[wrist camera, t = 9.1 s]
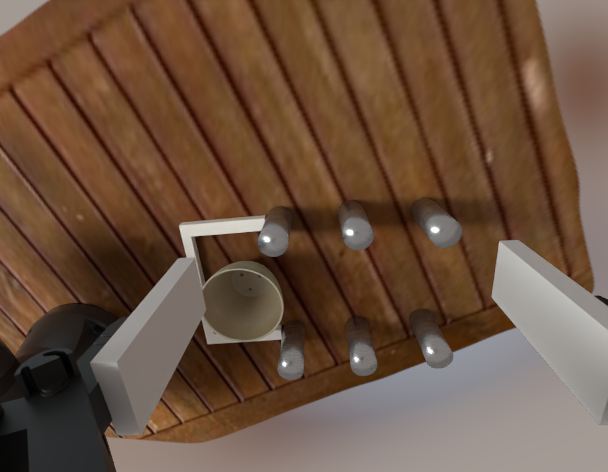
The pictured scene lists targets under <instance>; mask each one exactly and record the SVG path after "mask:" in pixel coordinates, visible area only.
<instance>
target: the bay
mask: <svg viewBox="0 0 608 472" xmlns="http://www.w3.org/2000/svg"><path fill="white" fill-rule="evenodd" d="M265 220H266V215H262V216H251V217H239V218H227V219H216V220H204V221H192V222H182V223H181V224H180V225H179V228H180V232H181V236H182V240H183V245H184V249H185V253H186V257H187V258H191V257H195V259H196V263H197V268H198V273H199V278H200V282H201V287H202V288H203V286H204V284H205V280H204V275H203V271H202V266H201V262H200V258H199V253H198V249H197V244H196V240H195V236H205V235H217V234H229V233H241V232H253V231H261V230H262V227H263V225H264V222H265ZM202 323H203V328H204V332H205V336H206V340H207V344H220V343H235V342H237V341H232V340H229V339H226V338H224V337H222V336H220V335H218V334H217V333H215V332H214V331H213V330H212V329H211V328H210V327H209V326H208V325H207V324H206V322H205V321H204V319H203V317H202ZM266 340H282V325H278V327H277V328H276V329H275V330H274V331H273V332H272V333H271V334H269V335H268V336H266V337H264V338H262V339H260V340H256V341H266Z"/></svg>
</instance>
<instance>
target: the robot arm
mask: <svg viewBox="0 0 608 472" xmlns="http://www.w3.org/2000/svg"><path fill="white" fill-rule="evenodd" d="M492 298H493V300H494V301H495V302H496V303H497V304H498V306H499V307H500V308H501V309H502V310H503V312H504V313H505V314H506V315H507V316H508V317H509V319H510V320H511V321H512V322H513V323H514V325H515V326H516V327H517V328H518V329H519V330H520V332H521V333H522V334H523V335H524V336H525V338H526V339H527V340H528V341H529V342H530V343H531V345H532V346H533V347H534V348H535V349H536V351H537V352H538V353H539V354H540V355H541V357H542V358H543V359H544V360H545V361H546V362H547V364H548V365H549V366H550V367H551V368H552V370H553V371H554V372H555V373H556V374H557V376H558V377H559V378H560V379H561V380H562V381H563V383H564V384H565V385H566V386H567V387H568V389H569V390H570V391H571V392H572V393H573V394H574V396H575V397H576V398H577V399H578V400H579V401H580V403H581V404H582V405H583V406H584V407H585V409H586V410H587V411H588V412H589V413H590V415H591V416H592V417H593V418H594V419H595V421H596V422H597V423H598V424H599V425H608V299H606V298H603V297H601V296H593V295H592V294H591V293H589V292H588V291H586V290H585V289H584V288H582V287H581V286H580V285H578V284H577V283H576V282H574V281H573V280H572V279H570V278H569V277H568V276H566V275H565V274H563V273H562V272H561V271H559V270H558V269H557V268H555V267H554V266H553V265H551V264H550V263H549V262H547V261H546V260H545V259H543V258H542V257H541V256H539V255H538V254H536V253H535V252H534V251H532V250H531V249H530V248H528V247H527V246H526V245H524V244H523V243H522V242H520V241H519V240H509V241H499V248H498V255H497V262H496V269H495V276H494V284H493V291H492ZM205 311H206V306H205V302H204V297H203V292H202V287H201V282H200V278H199V273H198V268H197V263H196V259H195V257H191V258H178V259H177V260H176V262H175V263H174V264H173V265H172V266H171V268H170V269H169V270H168V271H167V272H166V273H165V275H164V276H163V277H162V278H161V279H160V281H159V282H158V283H157V284H156V285H155V286H154V288H153V289H152V290H151V291H150V292H149V294H148V295H147V296H146V297H145V298H144V299H143V301H142V302H141V303H140V304H139V305H138V307H137V308H136V309H135V310H134V311H133V312H132V314H131V315H130V316H129V317H121V318H120V319H118V318H116V317H115V316H113V315H112V314H110V313H108V312H106V311H104V310H102V309H100V308H97V307H94V306H90V305H85V304H66V305H61V306H58V307H55V308H53V309H51V310H50V311H48V312H47V313H46V314H45V315H43V316H42V317H41V318H40V319H39V320H37V321H36V322H35V323H34V324H33V326H32V327H31V328H30V330H29V332H28V334H27V336H26V339H25V341H24V342H23V344H22V345H21V347H20V349H19V350H18V352H17V353H16V355H15V356H14V354H13V353H12V352H11V351H10V350H9V348H8V347H7V346H6V345H5V343H4V342H3V341H2V340H1V339H0V472H116V469H115V466H114V462H113V459H112V455H111V452H110V449H109V445H108V442H107V439H106V437H105V434H104V432H105V431H106V429H107V428H108V426H109V425H110V423H111V421H112V423H113V426H114V429H115V431H116V434H117V435H142V433H143V431H144V429H145V427H146V425H147V423H148V421H149V419H150V417H151V416H152V414H153V412H154V410H155V408H156V406H157V404H158V402H159V400H160V398H161V396H162V394H163V392H164V390H165V389H166V387H167V385H168V383H169V381H170V379H171V377H172V375H173V373H174V371H175V369H176V367H177V365H178V363H179V361H180V360H181V358H182V356H183V354H184V352H185V350H186V348H187V346H188V344H189V342H190V340H191V338H192V336H193V334H194V333H195V331H196V329H197V327H198V325H199V323H200V321H201V319H202V317H203V315H204V313H205Z"/></svg>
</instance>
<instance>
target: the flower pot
mask: <svg viewBox="0 0 608 472" xmlns="http://www.w3.org/2000/svg"><path fill="white" fill-rule="evenodd" d="M241 275H243V276H241ZM258 275H260V276H258ZM251 288H252V290H251ZM202 292H203V297H204V302H205V306H206V311H205V313H204V315H203V319H204V321H205V322H206V324H207V325H208V326H209V327H210V328H211V329H212V330H213V331H214V332H215V333H217V334H218V335H220V336H222V337H224V338H226V339H229V340H232V341H237V342H251V341H256V340H260V339H262V338H264V337H266V336H268V335H269V334H271V333H272V332H273V331H274V330H275V329H276V328H277V327H278V325H279V324H280V322H281V319H282V317H283V312H284V302H283V295H282V291H281V288H280V286H279V283H278V281H277V279H276V278H275V276H274V275H273V274H272V272H271V271H270V270H269V269H267V268H266V267H265V266H264V265H262V264H260V263H257V262H254V261H239V262H235V263H232V264H229V265H227V266H225V267H223V268H222V269H220V270H219V271H217V272H216V273H215V274H214V275H212V276H211V277H210V278H209V279H208V281H207V282H206V283H205V284H204V286H203V288H202Z"/></svg>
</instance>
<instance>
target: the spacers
mask: <svg viewBox="0 0 608 472" xmlns="http://www.w3.org/2000/svg"><path fill="white" fill-rule="evenodd" d="M338 216H339V221H340V226H341V231H342V236H343V240H344V243H345V244H346V246H347V247H349V248H350V249H353V250H362V249H365V248H367V247H368V246H369V245H370V244H371V243H372V241H373V238H374V233H373V230H372V227H371V225H370V223H369V221H368V218H367V216H366V214H365V211H364V209H363V207H362V205H361V204H360V203H359V202H357V201H354V200H348V201H345V202H344V203H342V204H341V206H340V207H339V210H338ZM411 216H412V217H413V219H414V220H415V221H416V222H417V224H418V225H419V226H420V227H421V229H422V230H423V231H424V232H425V234H426V235H427V236H428V237H429V239H430V240H431V241H432V242H433V243H434V244H435V245H436V246H438V247H441V248H447V247H451V246H453V245H454V244H456V243H457V242H458V241H459V239H460V237H461V235H462V228H461V226H460V224H459V223H458V222H457V221H456V220H455V219H454V218H452V217H451V216H450V215H449V214H448V213H447V212H446V211H445V210H443V209H442V208H441V207H440V206H439V205H438V204H437V203H435V202H434V201H433V200H432V199H430V198H421V199H418V200H417V201H415V202H414V204H413V205H412V207H411ZM291 224H292V215H291V213H290V211H289V210H288V209H286V208H284V207H280V206H278V207H274V208H272V209H271V210H270V211H269V212H268V214H267V217H266V220H265V222H264V225H263V227H262V230H261V233H260V235H259V238H258V247H259V249H260V250H261V252H262V253H264V254H265V255H267V256H270V257H277V256H280V255H282V254H283V253H284V252H285V251H286V249H287V247H288V241H289V235H290V229H291ZM409 321H410V324H411V326H412V329H413V331H414V333H415V336H416V338H417V340H418V343H419V345H420V348H421V350H422V352H423V355H424V357H425V359H426V362H427V364H428V365H429V366H431V367H433V368H443V367H446V366H448V365H449V364H450V363H451V362H452V360H453V353H452V351H451V349H450V347H449V346H448V344H447V342H446V340H445V338H444V336H443V334H442V333H441V331H440V329H439V327H438V325H437V323H436V321H435V319H434V318H433V316H432V314H431V312H430V311H428V310H426V309H418V310H415V311H414V312H413V313H412V314H411V315H410V318H409ZM345 327H346V334H347V342H348V349H349V356H350V363H351V369H352V371H353V372H354V373H355V374H357V375H360V376H367V375H370V374H372V373H373V372H375V370H376V369H377V360H376V356H375V352H374V348H373V344H372V339H371V335H370V331H369V327H368V323H367V321H366V320H365V319H364V318H362V317H359V316H355V317H352V318H350V319H349V320H348V321H347V322H346V325H345ZM304 346H305V327H304V325H303V324H302V323H300V322H298V321H289V322H287V323H286V324H285V325H284V327H283V332H282V340H281V347H280V355H279V363H278V373H279V375H280V376H281V377H282V378H284V379H287V380H295V379H298V378H300V377H301V376H302V374H303V371H304Z"/></svg>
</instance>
